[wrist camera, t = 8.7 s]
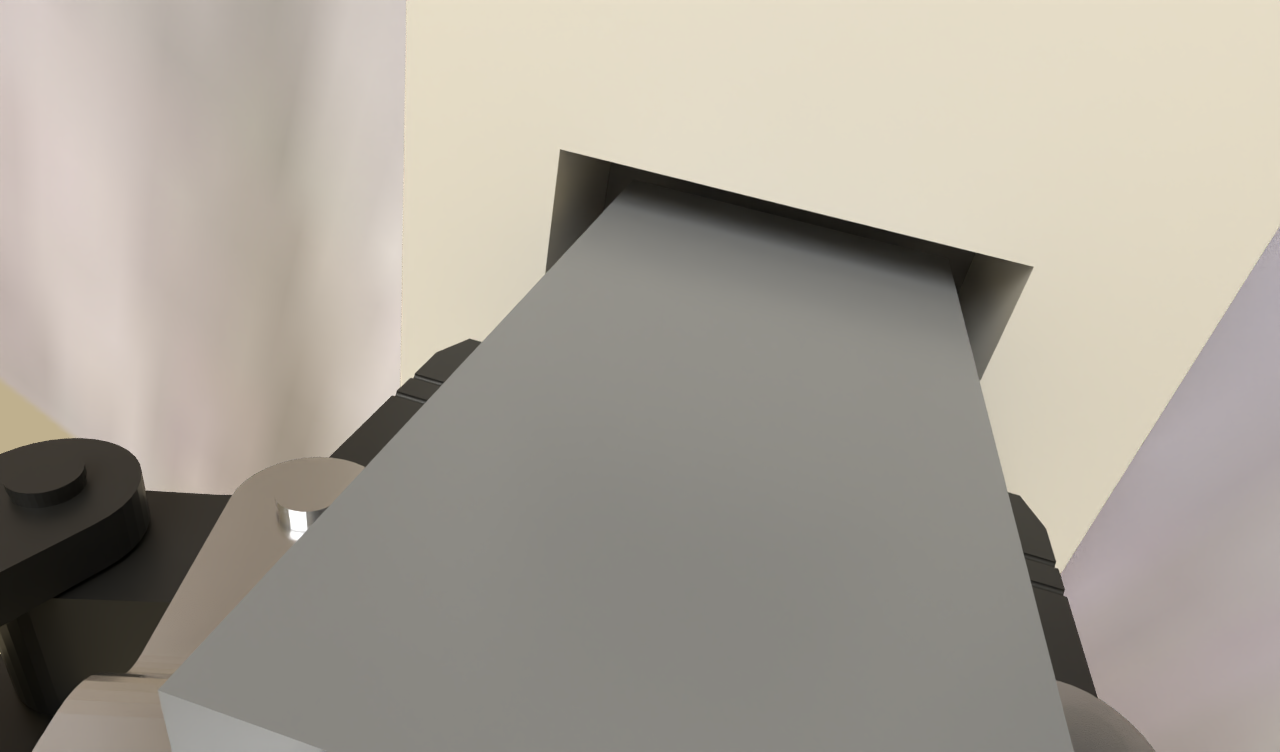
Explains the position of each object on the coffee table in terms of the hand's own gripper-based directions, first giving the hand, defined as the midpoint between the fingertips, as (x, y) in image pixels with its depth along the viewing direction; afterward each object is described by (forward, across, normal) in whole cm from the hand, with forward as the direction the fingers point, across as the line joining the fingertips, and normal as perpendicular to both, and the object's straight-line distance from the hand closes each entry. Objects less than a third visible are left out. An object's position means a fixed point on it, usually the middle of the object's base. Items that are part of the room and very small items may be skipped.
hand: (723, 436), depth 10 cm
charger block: (+2, 0, 0) cm, 2 cm away
